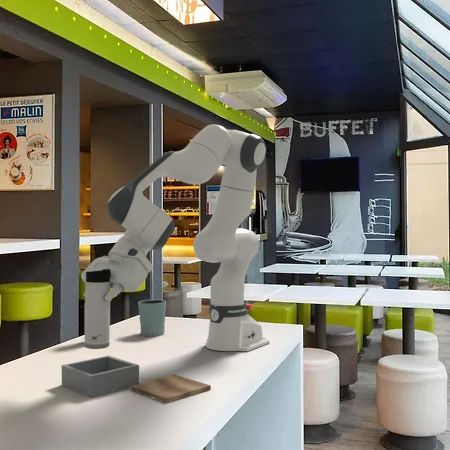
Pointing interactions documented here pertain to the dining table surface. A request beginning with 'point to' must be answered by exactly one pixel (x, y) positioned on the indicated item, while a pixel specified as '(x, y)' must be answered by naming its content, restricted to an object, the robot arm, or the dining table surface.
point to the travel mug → (97, 310)
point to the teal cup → (152, 317)
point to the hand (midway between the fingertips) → (95, 298)
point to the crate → (100, 375)
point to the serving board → (170, 388)
